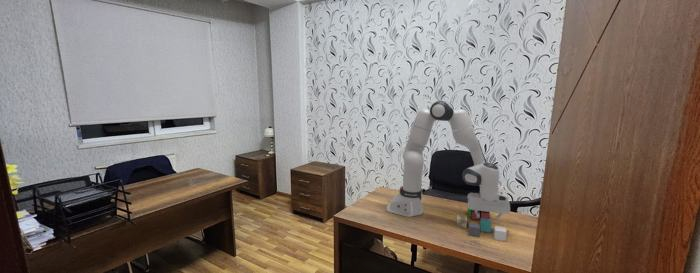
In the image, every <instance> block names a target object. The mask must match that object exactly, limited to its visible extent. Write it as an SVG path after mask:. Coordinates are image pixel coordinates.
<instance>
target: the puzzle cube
mask: <svg viewBox="0 0 700 273" xmlns="http://www.w3.org/2000/svg"><path fill="white" fill-rule="evenodd" d="M477 213H478V214H480V218H477V215H476V213H475V210H469V209H468V208H467V214H468V216H469V219H471V220H480V221H481V218H482V219H490V215H491V214H490V213H491V212H487V211H478V212H477Z"/></svg>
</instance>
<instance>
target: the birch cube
mask: <svg viewBox="0 0 700 273" xmlns="http://www.w3.org/2000/svg"><path fill="white" fill-rule="evenodd" d="M467 225H468V217H467V215H459V214H457V215H456V228H460V229H465V230H466V229H467Z"/></svg>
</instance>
